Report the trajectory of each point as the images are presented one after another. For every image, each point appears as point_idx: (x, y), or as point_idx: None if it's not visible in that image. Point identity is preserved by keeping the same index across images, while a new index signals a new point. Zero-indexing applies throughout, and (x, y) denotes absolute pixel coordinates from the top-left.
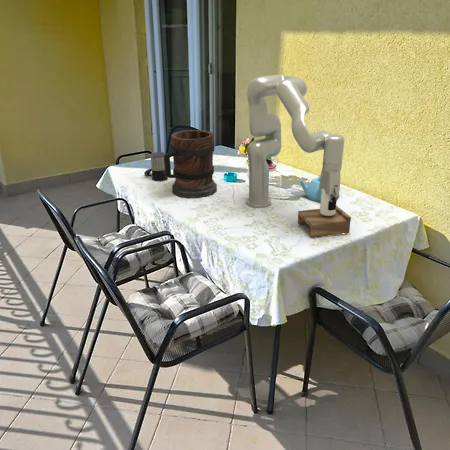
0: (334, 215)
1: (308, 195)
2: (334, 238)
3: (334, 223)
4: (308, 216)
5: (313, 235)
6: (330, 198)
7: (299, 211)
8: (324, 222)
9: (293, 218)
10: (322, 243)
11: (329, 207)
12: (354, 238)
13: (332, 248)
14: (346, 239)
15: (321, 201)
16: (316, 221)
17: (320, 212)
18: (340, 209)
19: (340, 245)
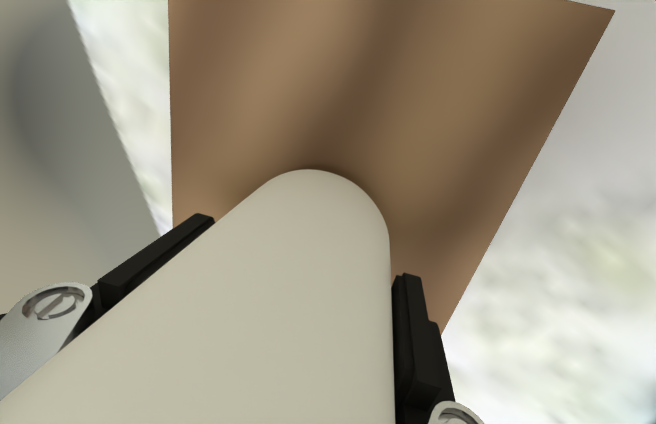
0: None
1: None
2: None
3: (177, 177)
4: (385, 34)
5: None
6: (13, 336)
7: (589, 19)
8: (191, 100)
9: (641, 73)
10: (150, 8)
11: (177, 236)
12: (169, 226)
13: (79, 28)
14: (168, 185)
15: (285, 235)
16: (234, 36)
17: (328, 174)
18: None
19: (109, 104)
